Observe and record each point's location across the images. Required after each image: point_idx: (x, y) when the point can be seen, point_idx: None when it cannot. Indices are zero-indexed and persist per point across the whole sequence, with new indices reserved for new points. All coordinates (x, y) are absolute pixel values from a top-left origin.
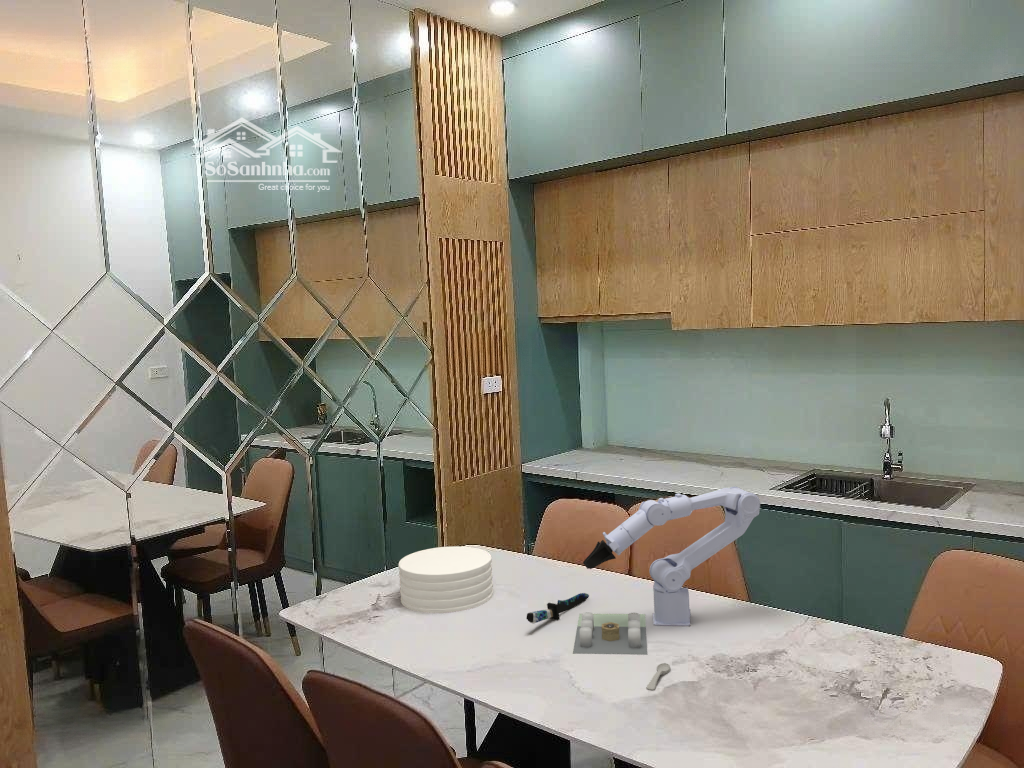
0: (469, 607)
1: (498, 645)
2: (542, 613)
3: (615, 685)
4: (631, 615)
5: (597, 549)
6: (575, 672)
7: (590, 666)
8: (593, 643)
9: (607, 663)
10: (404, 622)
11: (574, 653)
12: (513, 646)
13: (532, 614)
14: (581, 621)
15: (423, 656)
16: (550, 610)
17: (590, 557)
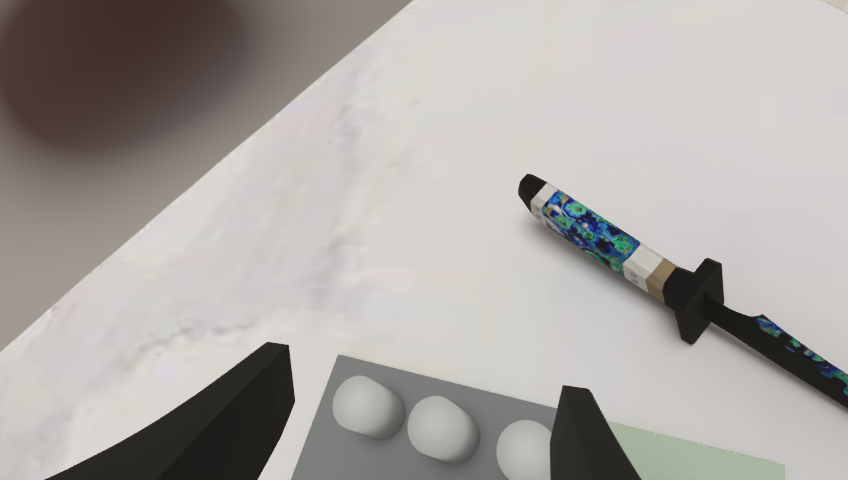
0: (838, 2)
1: (467, 145)
2: (588, 240)
3: None
4: None
5: (85, 463)
6: (234, 346)
7: None
8: (389, 448)
9: None
10: None
11: (336, 360)
12: (449, 183)
13: (529, 194)
14: (442, 400)
15: (446, 13)
16: (655, 280)
17: (212, 384)
